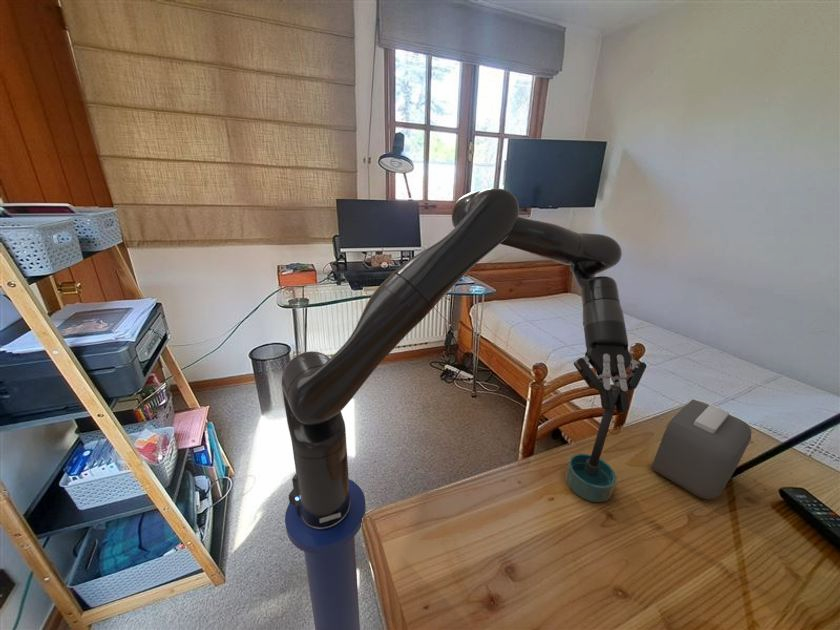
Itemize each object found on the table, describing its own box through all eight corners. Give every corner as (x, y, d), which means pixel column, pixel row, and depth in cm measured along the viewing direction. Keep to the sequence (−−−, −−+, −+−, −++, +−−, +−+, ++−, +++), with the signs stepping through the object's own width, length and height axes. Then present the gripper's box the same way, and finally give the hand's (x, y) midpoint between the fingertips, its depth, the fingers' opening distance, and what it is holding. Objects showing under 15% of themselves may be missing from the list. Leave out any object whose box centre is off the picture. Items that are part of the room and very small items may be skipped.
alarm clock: (676, 443, 85) (697, 392, 79) (734, 473, 77) (762, 418, 71) (648, 473, 76) (670, 417, 70) (710, 511, 68) (740, 450, 62)
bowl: (568, 498, 69) (572, 481, 68) (562, 464, 78) (566, 449, 76) (616, 509, 67) (621, 492, 66) (605, 473, 76) (609, 458, 74)
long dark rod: (589, 477, 70) (615, 391, 62) (581, 468, 72) (605, 383, 64) (600, 475, 70) (627, 390, 62) (591, 466, 73) (616, 382, 65)
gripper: (576, 316, 67) (586, 406, 60) (649, 321, 66) (667, 412, 59) (563, 330, 73) (570, 411, 67) (628, 334, 73) (642, 417, 66)
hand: (615, 411), depth 63 cm, fingers closed on long dark rod
